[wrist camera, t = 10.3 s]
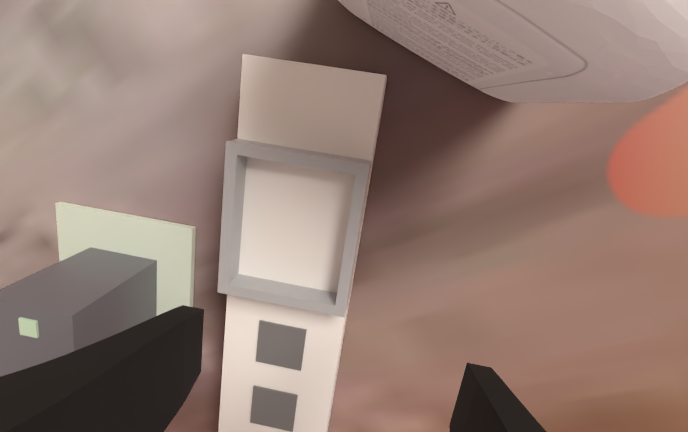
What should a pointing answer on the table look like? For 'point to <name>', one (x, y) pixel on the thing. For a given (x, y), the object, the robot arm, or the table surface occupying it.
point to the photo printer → (544, 45)
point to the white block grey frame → (292, 238)
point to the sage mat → (134, 246)
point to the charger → (74, 306)
